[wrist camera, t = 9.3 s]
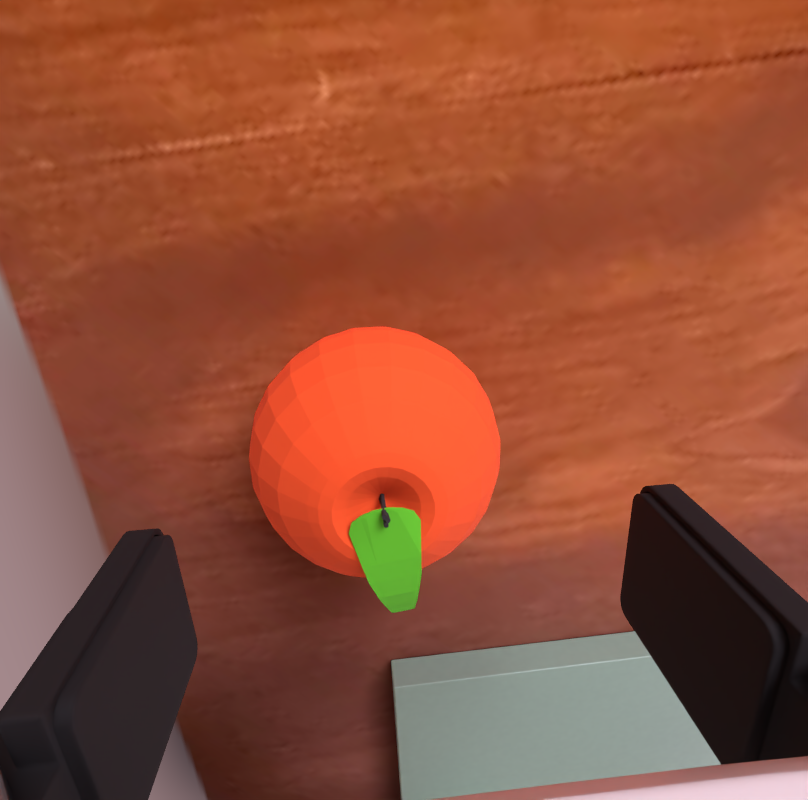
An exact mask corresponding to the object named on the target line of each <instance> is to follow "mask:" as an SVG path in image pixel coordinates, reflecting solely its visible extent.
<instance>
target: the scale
mask: <svg viewBox="0 0 808 800" xmlns="http://www.w3.org/2000/svg"><path fill="white" fill-rule="evenodd" d="M391 670H392V684H393V698H394V712H395V726H396V740H397V753H398V767H399V781H400V795H401V800H430V799H438V798H446V797H454V796H462V795H470V794H479V793H487V792H495V791H503V790H511V789H519V788H528V787H536V786H544V785H552V784H560V783H568V782H577V781H585V780H594V779H602V778H611V777H619V776H628V775H636V774H645V773H653V772H662V771H670V770H679V769H688V768H696V767H705V766H713V765H721V764H720V762H719V760H718V759H717V757H716V756H715V754H714V753H713V751H712V750H711V748H710V747H709V745H708V743H707V742H706V740H705V739H704V737H703V736H702V734H701V733H700V731H699V730H698V728H697V726H696V725H695V723H694V722H693V720H692V719H691V717H690V716H689V714H688V713H687V711H686V709H685V708H684V706H683V705H682V703H681V702H680V700H679V699H678V697H677V696H676V694H675V692H674V691H673V689H672V688H671V686H670V685H669V683H668V682H667V680H666V679H665V677H664V676H663V674H662V672H661V671H660V669H659V668H658V666H657V665H656V663H655V662H654V660H653V659H652V657H651V655H650V654H649V652H648V651H647V649H646V648H645V646H644V645H643V643H642V642H641V640H640V638H639V637H638V635H637V634H636V632H635V631H632V632H624V633H615V634H607V635H599V636H590V637H582V638H573V639H565V640H556V641H548V642H540V643H531V644H523V645H514V646H506V647H497V648H489V649H480V650H472V651H464V652H455V653H447V654H438V655H430V656H421V657H413V658H405V659H396V660H391Z"/></svg>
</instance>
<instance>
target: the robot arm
mask: <svg viewBox="0 0 808 800" xmlns="http://www.w3.org/2000/svg"><path fill="white" fill-rule="evenodd" d="M620 600H621V607H622V610H623V613H624V615H625V617H626V618H627V620H628V621H629V623H630V625H631V626H632V628H633V629H634V631H635V632H636V634H637V635H638V637H639V638H640V640H641V642H642V643H643V645H644V646H645V648H646V649H647V651H648V652H649V654H650V655H651V657H652V659H653V660H654V662H655V663H656V665H657V666H658V668H659V669H660V671H661V672H662V674H663V676H664V677H665V679H666V680H667V682H668V683H669V685H670V686H671V688H672V689H673V691H674V692H675V694H676V696H677V697H678V699H679V700H680V702H681V703H682V705H683V706H684V708H685V709H686V711H687V713H688V714H689V716H690V717H691V719H692V720H693V722H694V723H695V725H696V726H697V728H698V730H699V731H700V733H701V734H702V736H703V737H704V739H705V740H706V742H707V743H708V745H709V747H710V748H711V750H712V751H713V753H714V754H715V756H716V757H717V759H718V760H719V762H720V764H721V765H713V766H705V767H696V768H688V769H679V770H670V771H662V772H653V773H645V774H636V775H628V776H619V777H611V778H602V779H594V780H585V781H577V782H568V783H560V784H552V785H544V786H536V787H528V788H519V789H511V790H503V791H495V792H487V793H479V794H470V795H462V796H454V797H446V798H438V799H430V800H808V602H807V601H805V600H804V599H803V598H802V597H801V596H800V595H799V594H798V593H796V592H795V591H794V590H793V589H792V588H791V587H790V586H789V585H787V584H786V583H785V582H784V581H783V580H782V579H781V578H780V577H779V576H777V575H776V574H775V573H774V572H773V571H772V570H771V569H770V568H768V567H767V566H766V565H765V564H764V563H763V562H762V561H761V560H759V559H758V558H757V557H756V556H755V555H754V554H753V553H752V552H750V551H749V550H748V549H747V548H746V547H745V546H744V545H743V544H742V543H740V542H739V541H738V540H737V539H736V538H735V537H734V536H733V535H731V534H730V533H729V532H728V531H727V530H726V529H725V528H724V527H722V526H721V525H720V524H719V523H718V522H717V521H716V520H715V519H713V518H712V517H711V516H710V515H709V514H708V513H707V512H706V511H705V510H703V509H702V508H701V507H700V506H699V505H698V504H697V503H696V502H694V501H693V500H692V499H691V498H690V497H689V496H688V495H687V494H685V493H684V492H683V491H682V490H681V489H680V488H679V487H677V486H676V485H674V484H665V485H653V486H645V487H643V488H642V490H641V492H640V494H636V495H635V496H634V499H633V504H632V512H631V520H630V527H629V535H628V543H627V550H626V558H625V566H624V573H623V581H622V589H621V598H620ZM197 648H198V647H197V638H196V634H195V630H194V625H193V621H192V617H191V613H190V609H189V605H188V601H187V597H186V593H185V589H184V584H183V580H182V576H181V572H180V568H179V564H178V560H177V556H176V552H175V547H174V543H173V540H172V538H171V536H169V535H164V536H163V533H162V532H161V530H160V529H147V530H135V531H128V532H126V533H125V534H124V535H123V536H122V538H121V539H120V541H119V542H118V543H117V545H116V546H115V548H114V549H113V551H112V552H111V554H110V555H109V557H108V558H107V559H106V561H105V562H104V564H103V565H102V567H101V568H100V570H99V571H98V573H97V574H96V576H95V577H94V578H93V580H92V581H91V583H90V584H89V586H88V587H87V589H86V590H85V592H84V593H83V595H82V596H81V598H80V599H79V600H78V602H77V603H76V605H75V606H74V608H73V609H72V610H71V611H70V612H69V613H68V614H67V615H66V617H65V618H64V620H63V621H62V623H61V624H60V625H59V627H58V629H57V630H56V631H55V633H54V634H53V636H52V637H51V639H50V640H49V641H48V643H47V644H46V646H45V647H44V649H43V650H42V652H41V653H40V655H39V656H38V657H37V659H36V660H35V662H34V663H33V665H32V666H31V667H30V669H29V670H28V672H27V673H26V675H25V676H24V678H23V679H22V681H21V682H20V683H19V685H18V686H17V688H16V689H15V691H14V692H13V693H12V695H11V696H10V698H9V699H8V701H7V702H6V704H5V705H4V707H3V708H2V709H1V711H0V800H148V798H149V795H150V792H151V789H152V786H153V783H154V780H155V777H156V774H157V772H158V768H159V766H160V763H161V760H162V757H163V754H164V751H165V748H166V745H167V743H168V740H169V737H170V734H171V731H172V728H173V725H174V722H175V719H176V716H177V714H178V711H179V708H180V705H181V702H182V699H183V696H184V693H185V690H186V687H187V684H188V682H189V679H190V676H191V673H192V670H193V667H194V664H195V661H196V657H197Z"/></svg>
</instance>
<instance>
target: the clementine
mask: <svg viewBox="0 0 808 800" xmlns="http://www.w3.org/2000/svg"><path fill="white" fill-rule="evenodd" d="M500 442H501V441H500V437H499V433H498V429H497V425H496V421H495V417H494V413H493V410H492V407H491V404H490V401H489V398H488V397H487V395H486V393H485V392H484V390H483V388H482V387H481V385H480V383H479V382H478V380H477V378H476V377H475V375H474V373H473V372H472V371H471V370H470V369H469V368H467V367H466V366H465V365H464V364H463V363H462V362H461V361H460V360H459V359H458V358H457V357H456V356H455V355H453V354H452V353H451V352H450V351H448V350H447V349H445V348H444V347H442V346H440V345H438V344H436V343H434V342H432V341H430V340H428V339H426V338H424V337H422V336H420V335H418V334H416V333H414V332H409V331H404V330H399V329H395V328H390V327H385V326H383V327H363V328H351V329H348V330H345V331H342V332H339V333H336V334H333V335H329V336H326V337H323V338H321V339H320V340H318V341H317V342H315V343H314V344H312V345H311V346H309V347H307V348H306V349H304V350H303V351H301V352H300V353H298V354H297V355H295V356H294V357H293V358H292V359H291V360H290V361H289V363H288V364H287V365H286V366H285V367H284V368H283V369H282V370H281V372H280V373H279V374H278V375H277V376H276V377H275V378H274V379H273V381H272V382H271V383H270V384H269V385H268V387H267V389H266V391H265V393H264V395H263V397H262V400H261V402H260V404H259V406H258V408H257V410H256V412H255V415H254V422H253V428H252V435H251V441H250V452H249V463H250V469H251V476H252V483H253V489H254V491H255V493H256V495H257V497H258V500H259V502H260V504H261V506H262V508H263V510H264V512H265V514H266V516H267V518H268V520H269V521H270V523H271V525H272V526H273V528H274V529H275V530H276V531H277V533H278V534H279V535H280V536H281V537H282V538H283V539H284V541H285V542H286V543H287V544H288V545H289V546H290V547H291V549H293V550H294V551H296V552H297V553H299V554H300V555H302V556H303V557H305V558H306V559H308V560H309V561H311V562H312V563H314V564H315V565H318V566H321V567H324V568H326V569H329V570H332V571H335V572H337V573H340V574H343V575H348V576H355V577H363V578H367V580H368V582H369V584H370V586H371V587H372V589H373V590H374V592H375V593H376V595H377V596H378V598H379V599H380V600H381V602H382V603H383V604H384V605H385V607H387V608H388V609H389V610H390V611H391V612H392V613H394V612H400V611H405V610H410V609H414V608H415V605H416V602H417V598H418V594H419V588H420V581H421V574H422V569H423V568H425V567H427V566H428V565H430V564H432V563H433V562H435V561H437V560H439V559H440V558H442V557H444V556H446V555H447V554H449V553H451V552H452V551H453V550H454V549H455V548H456V547H457V546H459V545H460V544H461V543H462V542H463V541H464V540H465V539H466V538H467V537H468V536H469V535H470V534H471V533H472V532H473V531H474V529H475V528H476V526H477V524H478V523H479V521H480V520H481V518H482V517H483V515H484V514H485V512H486V511H487V508H488V505H489V502H490V499H491V496H492V493H493V490H494V487H495V484H496V480H497V476H498V473H499V466H500Z"/></svg>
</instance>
